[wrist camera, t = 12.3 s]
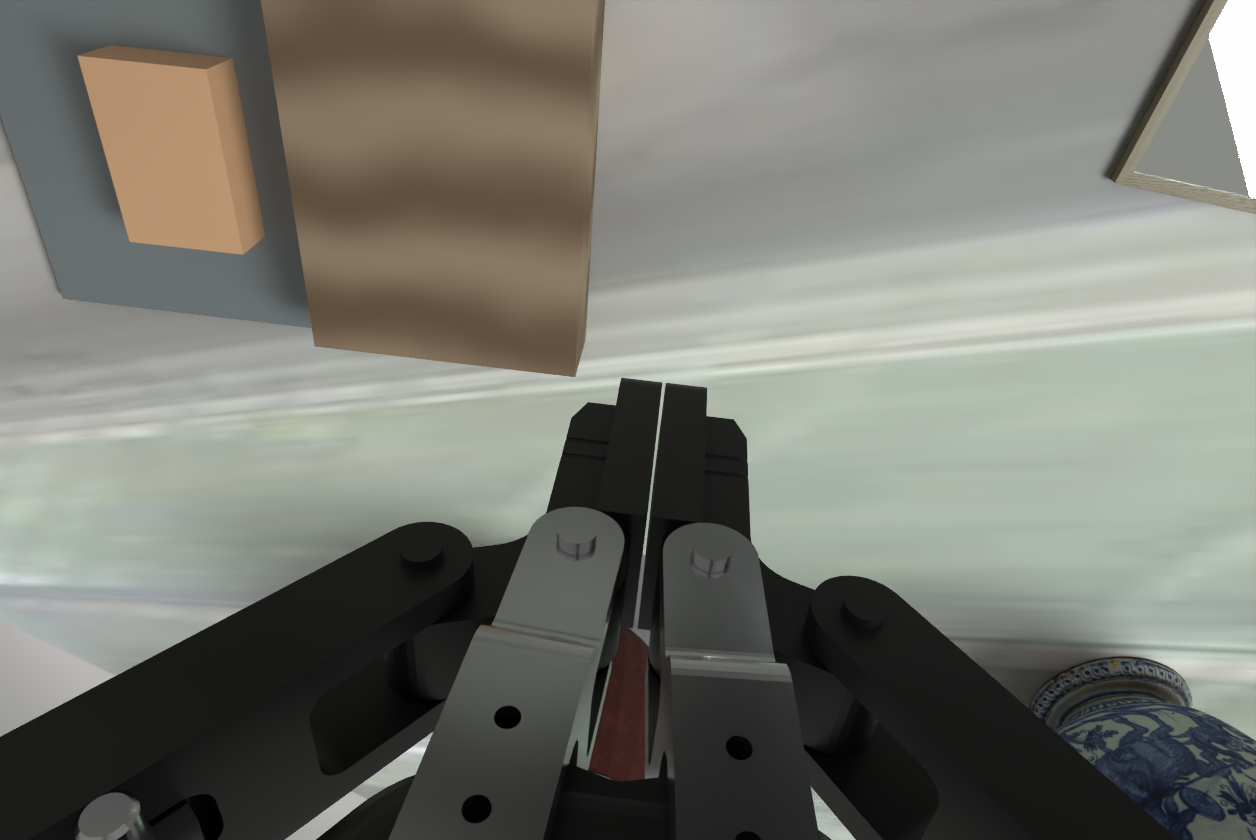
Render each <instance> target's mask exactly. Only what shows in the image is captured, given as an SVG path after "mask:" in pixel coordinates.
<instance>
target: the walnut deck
mask: <svg viewBox="0 0 1256 840" xmlns="http://www.w3.org/2000/svg"><path fill="white" fill-rule="evenodd" d="M261 5H262V11H263V18H264V24H265V31H266V37H267V43H268V50H269V56H270V63H271V69H272V75H273V82H274V88H275V95H276V101H277V107H278V114H279V120H280V127H281V133H282V139H283V146H284V152H285V159H286V165H287V171H288V178H289V184H290V191H291V197H292V203H293V210H294V216H295V223H296V229H297V235H298V242H299V248H300V255H301V261H302V267H303V274H304V280H305V287H306V293H307V299H308V306H309V312H310V319H311V325H312V331H313V338H314V344H315V346H317V347H325V348H334V349H342V350H351V351H359V352H368V353H376V354H385V355H393V356H402V357H410V358H418V359H427V360H435V361H444V362H452V363H461V364H469V365H478V366H486V367H495V368H503V369H511V370H520V371H528V372H537V373H545V374H554V375H562V376H571V377H575V375H576V372H577V368H578V364H579V361H580V357H581V354H582V350H583V347H584V343H585V337H586V319H587V302H588V284H589V267H590V250H591V232H592V215H593V197H594V180H595V162H596V145H597V128H598V110H599V93H600V75H601V58H602V41H603V23H604V6H605V0H261Z"/></svg>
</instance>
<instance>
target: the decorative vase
mask: <svg viewBox="0 0 1256 840" xmlns="http://www.w3.org/2000/svg"><path fill="white" fill-rule="evenodd" d="M1030 710H1031V711H1032V712H1033V713H1034V714H1035V715H1036V716H1037V717H1039V718H1040V719H1041V720H1042V721H1043V722H1044V723H1045V724H1047V725H1048V726H1049V727H1050V728H1051V729H1052V730H1053V731H1055V732H1056V733H1057V734H1058V735H1059V736H1060V737H1061V738H1063V739H1064V740H1065V741H1066V742H1067V743H1068V744H1070V745H1071V746H1072V747H1073V748H1074V749H1075V750H1076V751H1078V752H1079V753H1080V754H1081V755H1082V756H1083V757H1084V758H1086V759H1087V760H1088V761H1089V762H1090V763H1091V764H1092V765H1094V766H1095V767H1096V768H1097V769H1098V770H1099V771H1100V772H1102V773H1103V774H1104V775H1105V776H1106V777H1107V778H1109V779H1110V780H1111V781H1112V782H1113V783H1114V784H1115V785H1117V786H1118V787H1119V788H1120V789H1121V790H1122V791H1123V792H1125V793H1126V794H1127V795H1128V796H1129V797H1130V798H1131V799H1133V800H1134V801H1135V802H1136V803H1137V804H1138V805H1139V806H1141V807H1142V808H1143V809H1144V810H1145V811H1146V812H1148V813H1149V814H1150V815H1151V816H1152V817H1153V818H1154V819H1156V820H1157V821H1158V822H1159V823H1160V824H1161V825H1162V826H1164V827H1165V828H1166V829H1167V830H1168V831H1169V832H1170V833H1172V834H1173V835H1174V836H1175V837H1176V838H1177V839H1178V840H1256V741H1255V740H1253V739H1252V738H1250V737H1249V736H1247V735H1246V734H1244V733H1242V732H1241V731H1239V730H1237V729H1236V728H1234V727H1232V726H1230V725H1229V724H1227V723H1225V722H1223V721H1221V720H1219V719H1217V718H1215V717H1213V716H1210V715H1208V714H1206V713H1203V712H1201V711H1199V710H1196V709H1193V708H1192V697H1191V693H1190V690H1189V688H1188V686H1187V684H1186V682H1185V680H1184V679H1183V678H1182V677H1181V676H1180V675H1179V674H1178V673H1177V672H1176V671H1174V670H1173V669H1171V668H1169V667H1167V666H1164V665H1162V664H1160V663H1157V662H1153V661H1150V660H1147V659H1140V658H1132V657H1123V658H1108V659H1101V660H1095V661H1092V662H1087V663H1084V664H1081V665H1079V666H1076V667H1073V668H1071V669H1068V670H1066V671H1064V672H1062V673H1061V674H1059V675H1057V676H1056V677H1054V678H1053V679H1051V680H1050V681H1048V682H1047V683H1046V684H1045V685H1044V686H1043V687H1042V688H1041V689H1040V690H1039V691H1038V693H1037V694H1036V696H1035V697H1034V699H1033V701H1032V704H1031V708H1030Z"/></svg>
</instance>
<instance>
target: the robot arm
mask: <svg viewBox="0 0 1256 840" xmlns="http://www.w3.org/2000/svg"><path fill="white" fill-rule="evenodd" d="M661 389H662V383H661V382H653V381H644V380H636V379H627V378H621V382H620V387H619V393H618V398H617V403H616V406H615V405H606V404H598V403H590V402H588V403H587V404H586V405H585V406H584V407H583V408H582V409H581V410H579V411H578V412H577V413H576V414H575V415H574V416H573V417H572V419H571V422H570V426H569V430H568V434H567V438H566V441H565V445H564V449H563V452H562V457H561V460H560V464H559V467H558V471H557V475H556V479H555V482H554V486H553V490H552V494H551V497H550V501H549V505H548V509H547V512H546V514H544V515H543V516H541V517H540V518H539V519H538V520H537V521H536V522H535V523H534V524H533V525H532V527H531V529H530V531H529V534H528V535H526V536H524V537H523V538H520V539H518V540H515V541H512V542H509V543H505V544H499V545H492V546H483V547H475V548H472V545H471V542H470V541H469V539H468V538H467V537H466V536H465V535H464V534H463V533H462V532H461V531H459V530H458V529H456V528H454V527H452V526H449V525H446V524H442V523H436V522H418V523H413V524H408V525H405V526H402V527H399V528H397V529H395V530H393V531H391V532H389V533H387V534H385V535H383V536H381V537H379V538H377V539H375V540H374V541H372V542H370V543H368V544H366V545H364V546H362V547H360V548H358V549H356V550H355V551H353V552H351V553H349V554H347V555H345V556H343V557H341V558H339V559H337V560H336V561H334V562H332V563H330V564H328V565H326V566H324V567H322V568H320V569H318V570H317V571H315V572H313V573H311V574H309V575H307V576H305V577H303V578H301V579H299V580H298V581H296V582H294V583H292V584H290V585H288V586H286V587H284V588H282V589H280V590H279V591H277V592H275V593H273V594H271V595H269V596H267V597H265V598H263V599H261V600H260V601H258V602H256V603H254V604H252V605H250V606H248V607H246V608H244V609H242V610H240V611H239V612H237V613H235V614H233V615H231V616H229V617H227V618H225V619H223V620H221V621H220V622H218V623H216V624H214V625H212V626H210V627H208V628H206V629H204V630H202V631H201V632H199V633H197V634H195V635H193V636H191V637H189V638H187V639H185V640H183V641H182V642H180V643H178V644H176V645H174V646H172V647H170V648H168V649H166V650H164V651H163V652H161V653H159V654H157V655H155V656H153V657H151V658H149V659H147V660H145V661H144V662H142V663H140V664H138V665H136V666H134V667H132V668H130V669H128V670H126V671H125V672H123V673H121V674H119V675H117V676H115V677H113V678H111V679H109V680H107V681H105V682H104V683H102V684H100V685H98V686H96V687H94V688H92V689H90V690H88V691H87V692H85V693H83V694H81V695H79V696H77V697H75V698H73V699H72V700H69V701H68V702H66V703H64V704H62V705H60V706H58V707H56V708H54V709H52V710H50V711H48V712H47V713H45V714H43V715H41V716H39V717H37V718H36V719H33V720H31V721H30V722H28V723H26V724H24V725H22V726H20V727H18V728H16V729H14V730H12V731H11V732H9V733H7V734H5V735H3V736H1V737H0V840H284V839H286V838H287V837H289V836H290V835H291V834H293V833H294V832H296V831H297V830H298V829H300V828H301V827H302V826H304V825H305V824H307V823H308V822H309V821H311V820H312V819H313V818H315V817H316V816H318V815H319V814H320V813H322V812H323V811H324V810H326V809H327V808H329V807H330V806H331V805H333V804H334V803H335V802H337V801H338V800H340V799H341V798H342V797H344V796H345V795H346V794H348V793H349V792H351V791H352V790H353V789H355V788H356V787H357V786H359V785H360V784H362V783H363V782H364V781H366V780H367V779H368V778H370V777H371V776H373V775H374V774H375V773H377V772H378V771H379V770H381V769H382V768H384V767H385V766H386V765H388V764H389V763H390V762H392V761H393V760H395V759H396V758H397V757H399V756H400V755H401V754H403V753H404V752H406V751H407V750H408V749H410V748H411V747H412V746H414V745H415V744H417V743H418V742H419V741H421V740H422V739H423V738H425V737H426V736H428V735H429V734H430V733H432V732H433V731H434V732H433V734H432V736H431V739H430V741H429V744H428V746H427V748H426V751H425V753H424V756H423V758H422V760H421V763H420V765H419V768H418V770H417V772H416V775H414V776H411V777H408V778H405V779H403V780H401V781H399V782H397V783H395V784H393V785H391V786H389V787H387V788H385V789H383V790H382V791H380V792H379V793H377V794H375V795H374V796H372V797H370V798H369V799H367V800H366V801H365V802H363V803H362V804H361V805H359V806H358V807H357V808H355V809H354V810H353V811H352V812H350V813H349V814H348V815H347V816H345V817H344V818H343V819H342V820H340V821H339V822H338V823H337V824H335V825H334V826H333V827H332V828H330V829H329V830H328V831H326V832H325V833H324V834H323V835H321V836H320V837H319V838H318V839H316V840H831V839H830V838H829V837H827V836H826V835H825V834H823V833H822V832H820V831H819V830H818V827H817V821H816V816H815V810H814V804H813V798H812V792H811V787H812V788H813V789H814V790H815V792H816V793H817V794H818V795H819V796H820V797H821V799H822V800H823V801H824V802H825V803H826V805H827V806H828V807H829V808H830V809H831V810H832V812H833V813H834V814H835V815H836V816H837V818H838V819H839V820H840V821H841V822H842V824H843V825H844V826H845V827H846V828H847V829H848V831H849V832H850V833H851V834H852V835H853V837H854V838H855V839H856V840H1178V839H1177V838H1176V837H1175V836H1174V835H1173V834H1172V833H1170V832H1169V831H1168V830H1167V829H1166V828H1165V827H1164V826H1162V825H1161V824H1160V823H1159V822H1158V821H1157V820H1156V819H1154V818H1153V817H1152V816H1151V815H1150V814H1149V813H1148V812H1146V811H1145V810H1144V809H1143V808H1142V807H1141V806H1139V805H1138V804H1137V803H1136V802H1135V801H1134V800H1133V799H1131V798H1130V797H1129V796H1128V795H1127V794H1126V793H1125V792H1123V791H1122V790H1121V789H1120V788H1119V787H1118V786H1117V785H1115V784H1114V783H1113V782H1112V781H1111V780H1110V779H1109V778H1107V777H1106V776H1105V775H1104V774H1103V773H1102V772H1100V771H1099V770H1098V769H1097V768H1096V767H1095V766H1094V765H1092V764H1091V763H1090V762H1089V761H1088V760H1087V759H1086V758H1084V757H1083V756H1082V755H1081V754H1080V753H1079V752H1078V751H1076V750H1075V749H1074V748H1073V747H1072V746H1071V745H1070V744H1068V743H1067V742H1066V741H1065V740H1064V739H1063V738H1061V737H1060V736H1059V735H1058V734H1057V733H1056V732H1055V731H1053V730H1052V729H1051V728H1050V727H1049V726H1048V725H1047V724H1045V723H1044V722H1043V721H1042V720H1041V719H1040V718H1039V717H1037V716H1036V715H1035V714H1034V713H1033V712H1032V711H1031V710H1029V709H1028V708H1027V707H1026V706H1025V705H1024V704H1022V703H1021V702H1020V701H1019V700H1018V699H1017V698H1016V697H1014V696H1013V695H1012V694H1011V693H1010V692H1009V691H1008V690H1006V689H1005V688H1004V687H1003V686H1002V685H1001V684H1000V683H998V682H997V681H996V680H995V679H994V678H993V677H991V676H990V675H989V674H988V673H987V672H986V671H985V670H983V669H982V668H981V667H980V666H979V665H978V664H977V663H975V662H974V661H973V660H972V659H971V658H970V657H969V656H967V655H966V654H965V653H964V652H963V651H962V650H961V649H959V648H958V647H957V646H956V645H955V644H954V643H952V642H951V641H950V640H949V639H948V638H947V637H946V636H944V635H943V634H942V633H941V632H940V631H939V630H938V629H936V628H935V627H934V626H933V625H932V624H931V623H930V622H928V621H927V620H926V619H925V618H924V617H923V616H922V615H920V614H919V613H918V612H917V611H916V610H915V609H913V608H912V607H911V606H910V605H909V604H908V603H907V602H905V601H904V600H903V599H902V598H901V597H900V596H899V595H897V594H896V593H895V592H893V591H892V590H891V589H889V588H888V587H886V586H884V585H882V584H880V583H878V582H876V581H873V580H870V579H867V578H863V577H858V576H839V577H834V578H831V579H828V580H826V581H824V582H823V583H821V584H820V585H819V586H818V587H817V588H816V590H813V589H811V588H808V587H805V586H803V585H800V584H797V583H795V582H792V581H790V580H788V579H785V578H783V577H782V576H780V575H778V574H776V573H775V572H773V571H772V570H771V569H769V568H768V567H767V566H766V565H765V564H764V563H763V562H762V561H761V560H760V559H759V557H758V553H757V551H756V549H755V547H754V546H753V545H752V543H751V537H750V512H749V487H748V463H747V439H746V437H745V436H744V434H743V433H742V431H741V430H740V428H739V427H738V425H737V424H736V422H735V421H734V419H725V418H717V417H708V416H706V407H707V388H705V387H696V386H688V385H679V384H671V383H666V386H665V394H664V402H663V410H662V418H661V426H660V434H659V442H658V450H657V458H656V466H655V474H654V483H653V492H652V501H651V510H650V519H649V528H648V537H647V547H646V556H645V565H644V574H643V583H642V592H641V601H640V610H639V619H638V628H637V629H643V630H650V641H649V652H648V659H647V666H646V674H645V779H639V780H630V781H615V780H611V779H608V778H605V777H603V776H600V775H598V774H595V773H593V772H590V771H588V768H589V764H590V760H591V755H592V751H593V747H594V742H595V738H596V734H597V729H598V725H599V721H600V716H601V712H602V708H603V703H604V699H605V695H606V690H607V686H608V682H609V677H610V673H611V666H612V660H613V658H614V657H615V655H616V653H617V649H618V643H619V635H620V628H621V627H626V628H633V626H634V618H635V609H636V601H637V593H638V585H639V577H640V569H641V561H642V553H643V544H644V536H645V528H646V520H647V512H648V503H649V494H650V485H651V477H652V468H653V459H654V450H655V442H656V433H657V424H658V415H659V407H660V398H661ZM810 786H811V787H810Z"/></svg>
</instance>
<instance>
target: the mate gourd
mask: <svg viewBox="0 0 1256 840" xmlns="http://www.w3.org/2000/svg"><path fill="white" fill-rule="evenodd" d="M644 565H645V556H644V555H643V554H642V561H641V569H640V577H639V585H638V593H637V601H636V609H635V618H634V626H633V628H626V627H621V628H620V635H619V643H618V649H617V653H616V655H615V657H614V658H613V660H612V666H611V673H610V677H609V682H608V686H607V690H606V695H605V699H604V703H603V708H602V712H601V716H600V721H599V725H598V729H597V734H596V738H595V742H594V747H593V751H592V755H591V760H590V764H589V768H588V771H590V772H593V773H595V774H598V775H600V776H603V777H605V778H608V779H611V780H615V781H630V780H639V779H645V674H646V666H647V659H648V652H649V641H650V630H643V629H637V628H638V619H639V610H640V601H641V592H642V583H643V574H644Z"/></svg>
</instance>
